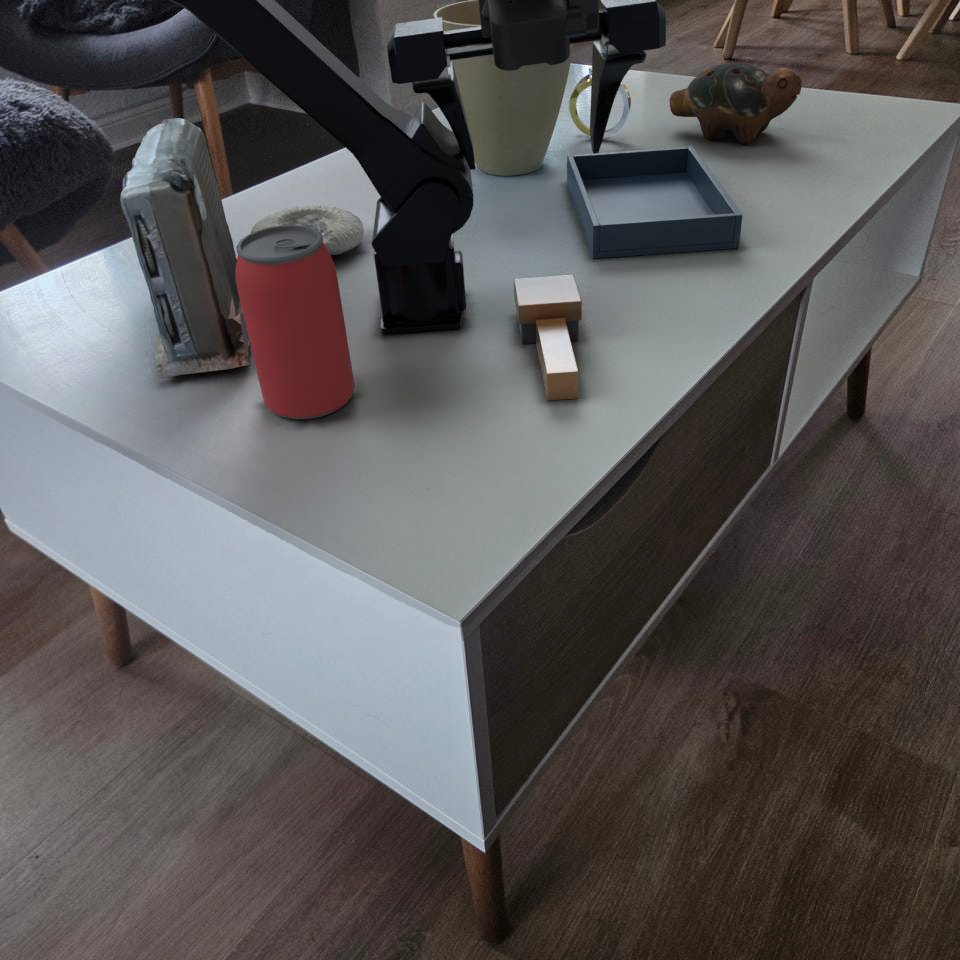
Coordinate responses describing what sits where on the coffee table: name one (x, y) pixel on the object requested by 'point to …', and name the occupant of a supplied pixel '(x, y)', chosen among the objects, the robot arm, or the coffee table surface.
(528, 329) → the brush
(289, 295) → the beer can
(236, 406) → the coffee table surface
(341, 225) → the fossil
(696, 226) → the tray
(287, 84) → the robot arm
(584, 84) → the ring
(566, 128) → the coffee table surface
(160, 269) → the radio
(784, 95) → the decorative turtle
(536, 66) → the plant pot
